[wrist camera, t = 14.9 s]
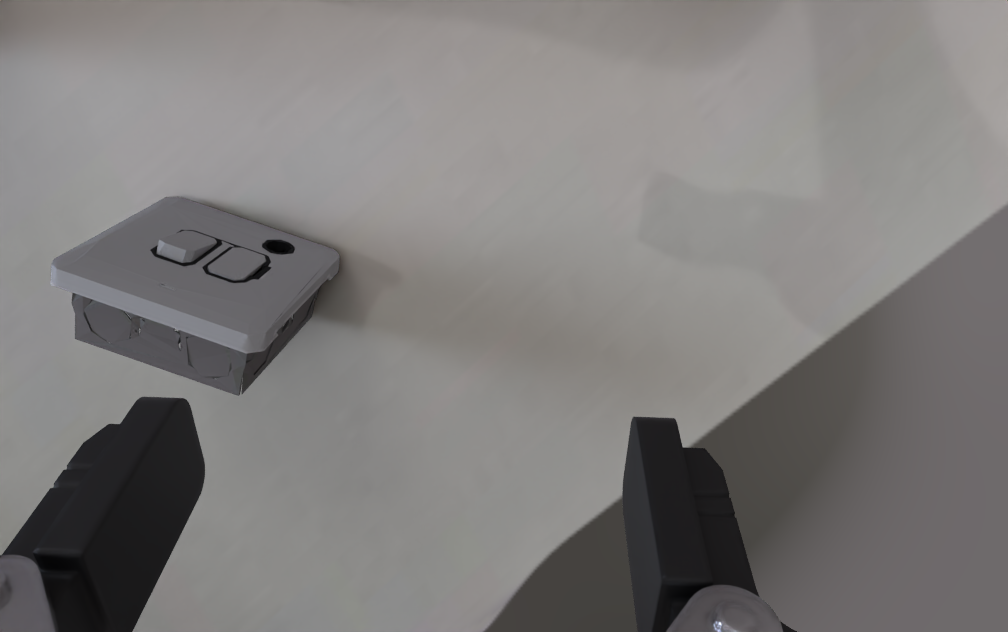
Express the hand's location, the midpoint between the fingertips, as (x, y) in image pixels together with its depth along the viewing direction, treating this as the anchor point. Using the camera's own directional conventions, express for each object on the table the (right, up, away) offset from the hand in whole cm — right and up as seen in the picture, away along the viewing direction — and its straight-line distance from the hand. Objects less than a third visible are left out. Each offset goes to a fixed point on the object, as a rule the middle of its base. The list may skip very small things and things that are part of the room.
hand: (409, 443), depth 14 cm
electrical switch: (-11, +4, +26) cm, 28 cm away
